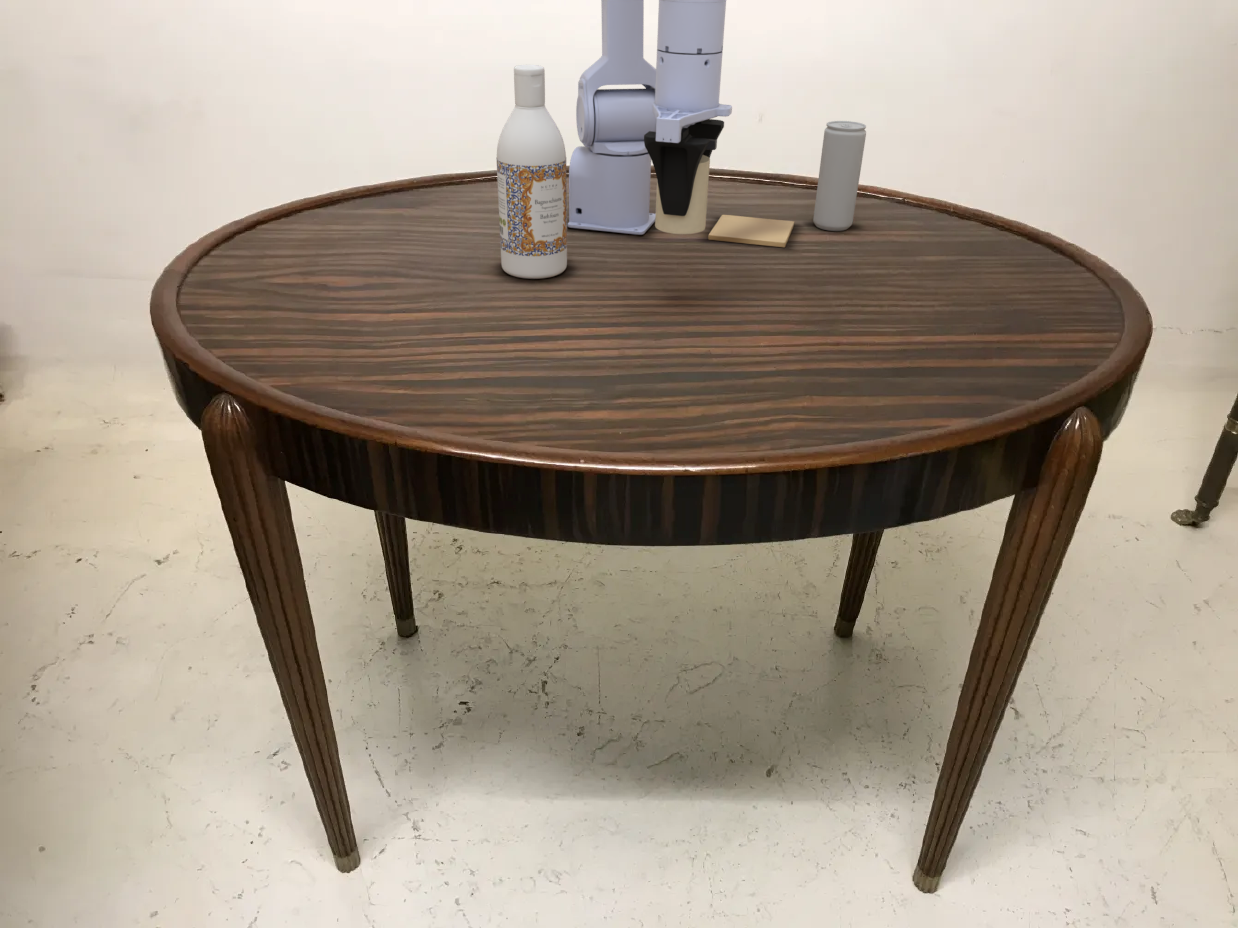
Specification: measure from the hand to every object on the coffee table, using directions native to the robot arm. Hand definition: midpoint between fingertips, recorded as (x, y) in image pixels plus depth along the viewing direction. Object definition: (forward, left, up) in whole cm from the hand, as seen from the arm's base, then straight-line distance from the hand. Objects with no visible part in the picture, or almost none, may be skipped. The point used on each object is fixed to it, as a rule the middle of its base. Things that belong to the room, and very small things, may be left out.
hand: (681, 207), depth 88 cm
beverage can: (+13, +30, -9) cm, 34 cm away
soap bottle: (0, 0, -2) cm, 2 cm away
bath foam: (-16, +3, -9) cm, 19 cm away
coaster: (+4, +24, -9) cm, 26 cm away
